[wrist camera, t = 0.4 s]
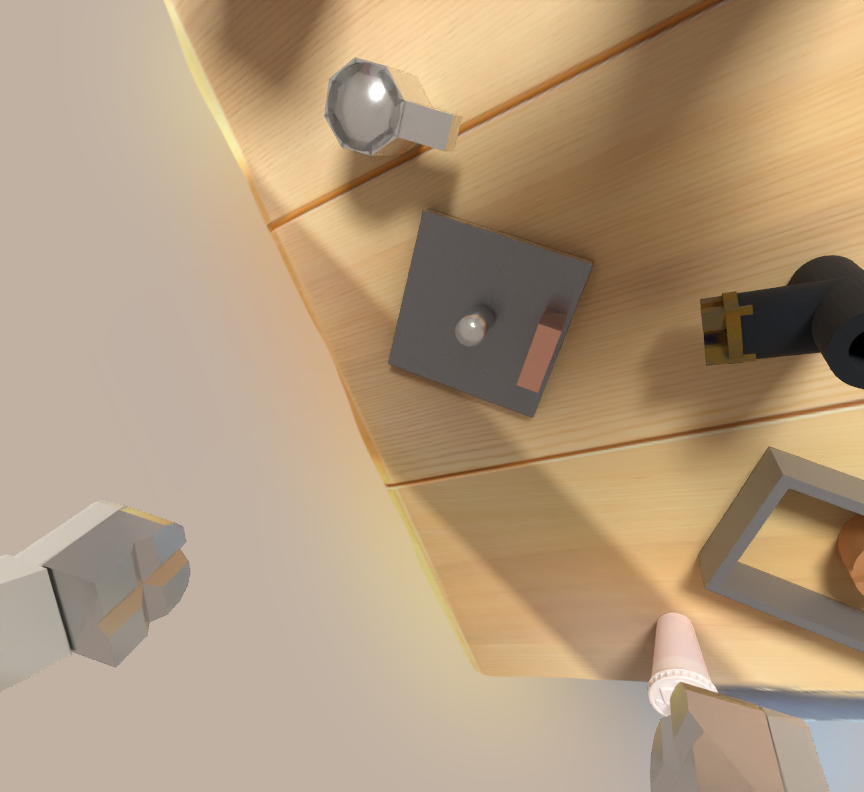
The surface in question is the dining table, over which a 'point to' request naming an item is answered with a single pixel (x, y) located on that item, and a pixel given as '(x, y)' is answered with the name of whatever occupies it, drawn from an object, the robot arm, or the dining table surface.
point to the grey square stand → (485, 310)
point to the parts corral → (746, 521)
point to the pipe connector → (794, 320)
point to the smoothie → (675, 661)
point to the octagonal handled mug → (385, 111)
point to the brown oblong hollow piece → (853, 550)
